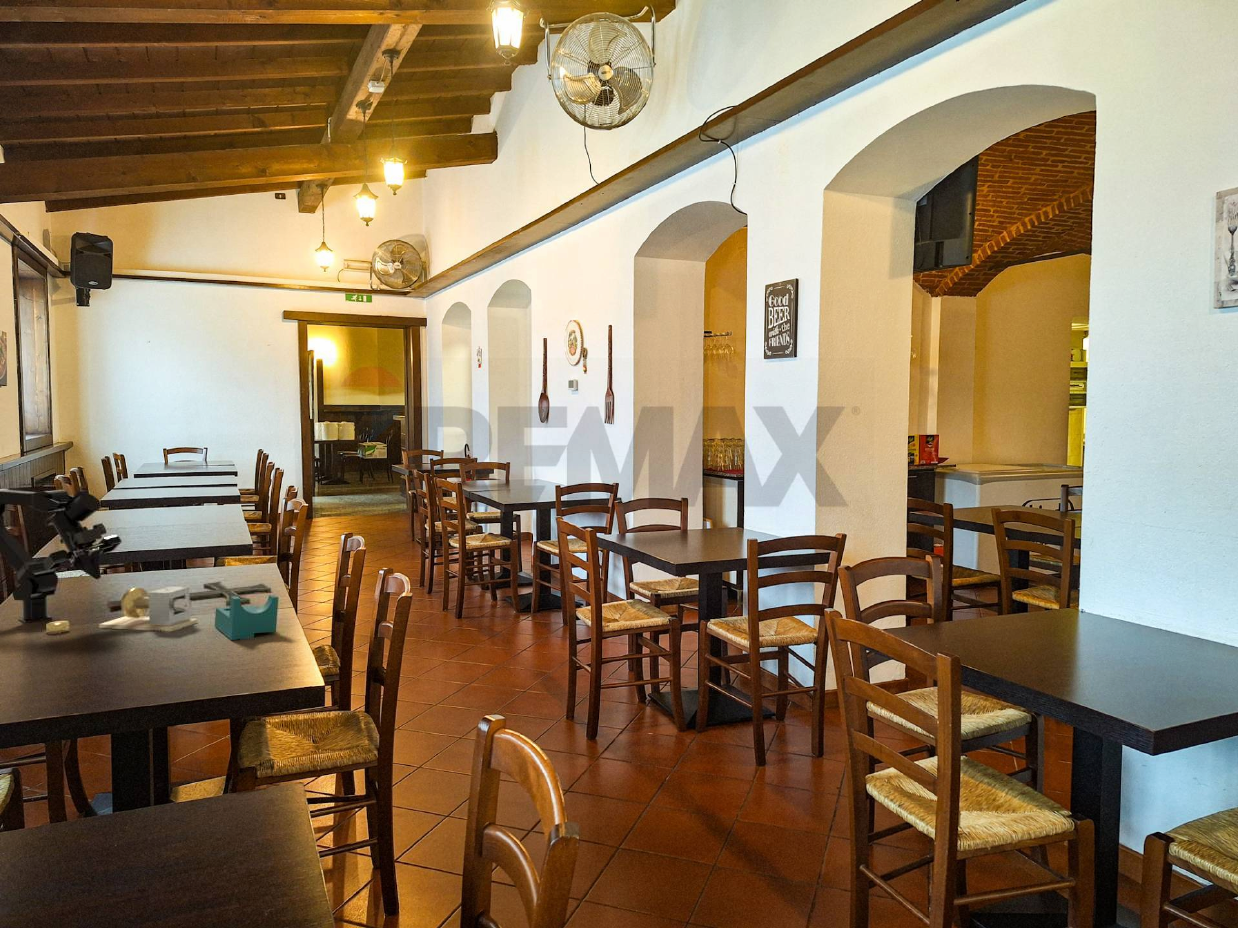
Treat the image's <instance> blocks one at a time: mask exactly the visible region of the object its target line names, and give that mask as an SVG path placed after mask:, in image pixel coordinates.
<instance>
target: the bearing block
mask: <svg viewBox="0 0 1238 928" xmlns="http://www.w3.org/2000/svg"><path fill="white" fill-rule="evenodd" d="M189 593H190V587H189V586H166V587H164V588H163V587H162V588H159V589H156V590H152V591H149V592H148V595H149V609H148V617H149V621H150V626H166V627H170V626H173V625H176V624H179V623H182V622H185V621H187V620H190V619H191V611H190V610H191V609H190V610H189V611H174V605H173V598H174V599H189Z"/></svg>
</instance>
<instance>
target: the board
mask: <svg viewBox="0 0 1238 928" xmlns="http://www.w3.org/2000/svg"><path fill="white" fill-rule="evenodd" d="M197 623H198V618H190V620H187V621H185V622H182V623H179V624H176V625H173V626H170V627H166V626H150V621H149V616H145V615H143V616H141V617H139V618H130V617H126V616H125V615H124V616H122V617H119V618H114V619H111V620H108V621H105V622H102V623H99V624H98V626H99V627H98V628H100V629H115V630H116V629H117V630H135V631H136V630H137V631H151V630H156V631H157V630H159V631H157V632H171V631H172V632H175V631H178V630H180V629H182V628H183V627H184V628H186V627H190V626H191V625H195V624H197ZM184 628H183V629H184ZM160 630H161V631H160ZM174 630H175V631H174Z"/></svg>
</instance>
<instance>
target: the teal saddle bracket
mask: <svg viewBox="0 0 1238 928" xmlns="http://www.w3.org/2000/svg"><path fill="white" fill-rule="evenodd" d="M242 605H243V604H241V602H240V598H239V597H237V596H232V597H231V601H230V605H229V606H221V607H219V606H218V607H215V617H214V627H215V628H216V629H217V630H219V631H220V632H221V633H222V634H223V635H224V636H226V637H227V638H229V640H230V641H236V640H237V639H240V640H247V639H246V638H250V639H254V638H255V634H257V633H258V634H259V633H275V632H277V625H278V624H277V622H278V612H279V611H278V607H279V596H277V595H276V594H269V595H268V598H267V601H266V602H265V603H264V605H263V606H259V605H245V606H244V605H243V606H242ZM237 641H238V640H237Z"/></svg>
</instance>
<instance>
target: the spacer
mask: <svg viewBox="0 0 1238 928" xmlns="http://www.w3.org/2000/svg"><path fill="white" fill-rule="evenodd" d="M45 628H46V631H45V632H46V634H47V633H48V635H55V634H56V635H58V634H62V633H61V632H64V633H67V632H69V631H70V621H68V620H58V621H51V622H47V623H46V627H45ZM57 633H58V634H57Z"/></svg>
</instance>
